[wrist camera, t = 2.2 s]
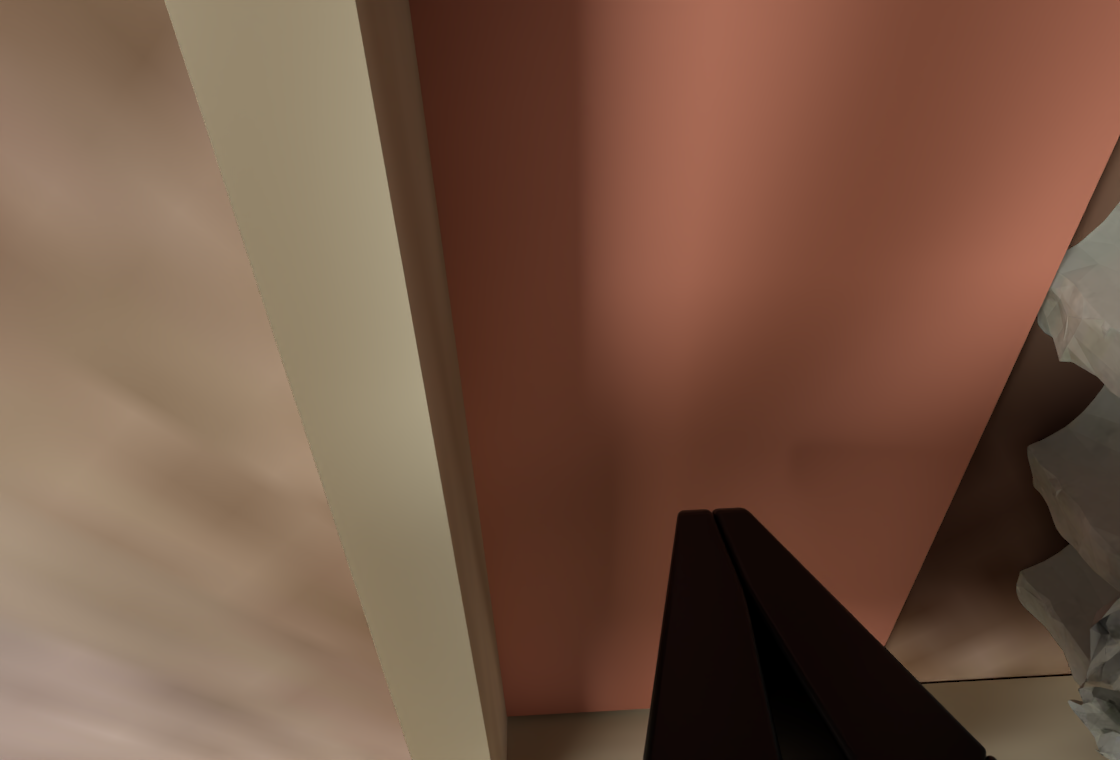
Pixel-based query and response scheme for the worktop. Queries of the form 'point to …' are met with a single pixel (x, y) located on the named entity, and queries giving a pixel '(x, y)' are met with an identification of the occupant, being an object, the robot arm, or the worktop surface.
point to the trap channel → (645, 309)
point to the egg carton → (1085, 486)
